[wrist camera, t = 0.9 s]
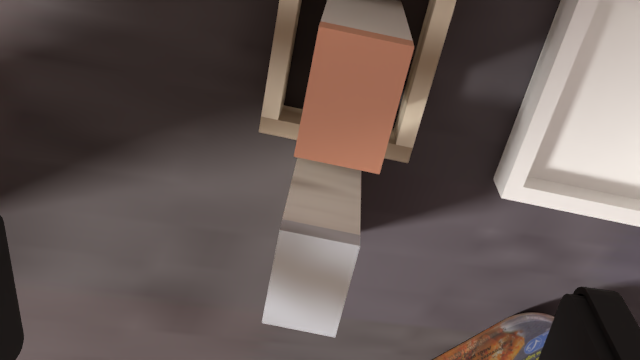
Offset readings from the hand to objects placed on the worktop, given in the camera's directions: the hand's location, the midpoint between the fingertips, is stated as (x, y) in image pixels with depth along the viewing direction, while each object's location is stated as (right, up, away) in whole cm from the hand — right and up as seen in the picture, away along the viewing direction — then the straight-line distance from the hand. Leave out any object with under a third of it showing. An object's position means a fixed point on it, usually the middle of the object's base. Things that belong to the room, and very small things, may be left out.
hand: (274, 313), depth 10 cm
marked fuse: (+3, +10, +24) cm, 26 cm away
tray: (+18, +7, +25) cm, 32 cm away
